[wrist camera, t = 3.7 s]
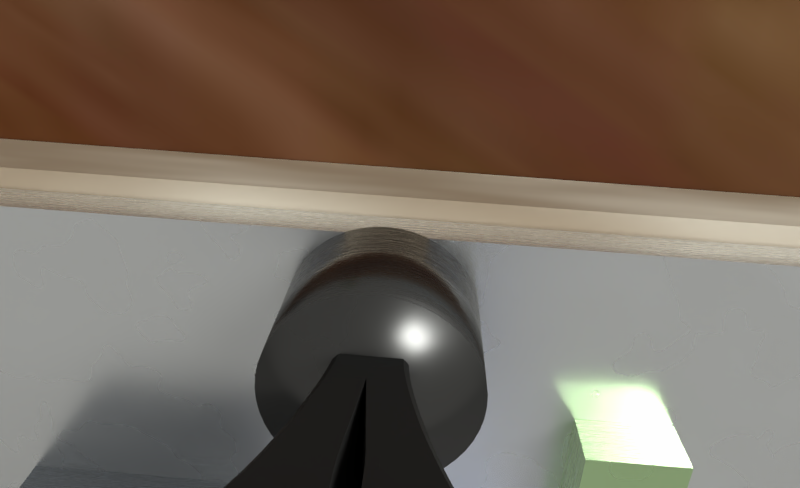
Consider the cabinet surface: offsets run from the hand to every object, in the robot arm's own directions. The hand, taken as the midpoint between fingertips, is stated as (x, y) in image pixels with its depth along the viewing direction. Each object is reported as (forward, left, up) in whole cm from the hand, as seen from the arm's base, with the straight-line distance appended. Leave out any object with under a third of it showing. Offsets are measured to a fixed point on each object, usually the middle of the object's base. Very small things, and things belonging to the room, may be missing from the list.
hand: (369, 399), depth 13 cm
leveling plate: (-5, 0, -4) cm, 6 cm away
